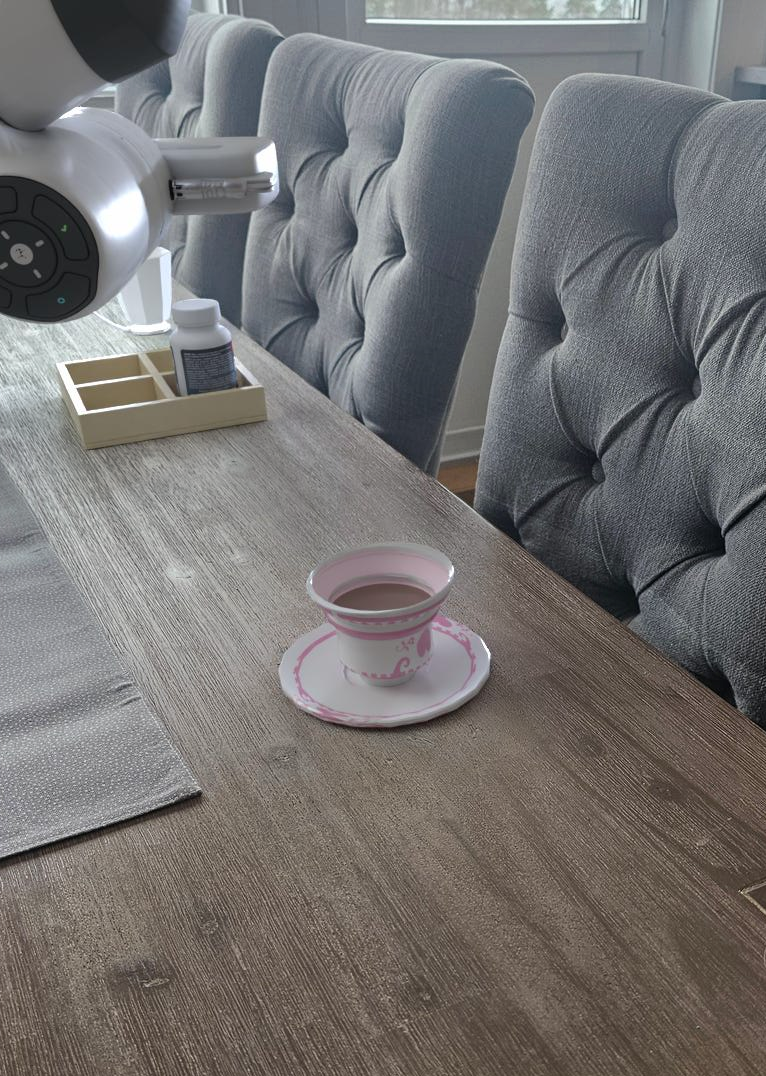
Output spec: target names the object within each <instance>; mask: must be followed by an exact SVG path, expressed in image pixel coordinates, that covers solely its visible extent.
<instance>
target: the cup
mask: <svg viewBox="0 0 766 1076" xmlns="http://www.w3.org/2000/svg"><path fill="white" fill-rule="evenodd" d="M172 289H173V288H172V252H171V250H168V249H166V248H165V247H163V246H157V247H156V249H155V250H154V251H153V252H152V253H151V255H150V256H149V258H148V259H147V260H146V261H145V262H144V263H143V264H142V265H141V266H140V267H139V269H138V271H137V272H136V274H135V275H134V277H133V278H132V279H131V280H130V282H129V283H128V284H127V285H126V286H125V287H124V288H123V289H122V290H121V291H120V292H119V293H118V294H117V295H116V299H117V301H118V303H119V306H120V308H121V310H122V312H123V315H124V317H125V319H126V321H128V322H129V323H130V324H132V325H131V326H124V325H120V324H118V323H115V322H114V321H111V320H109V318H106V317H104V316H103V315H101V314H100V313H98V312H97V311H95V312H93V313H91V314H90V315H91V316H93V317H94V318H95V319H97V320H99V321H100V322H102V323H104V324H105V325H107V326H109V327H111V328H112V329H115V330H118V331H121V332H124V333H125V332H126V333H132V334H133V335H136V336H137V335H138V336H153V335H158V334H164V333H166V332H167V331H170V330H171V329H172V328H171V324H170V323H168V322H167V321H168V320H169V319H170V318H171V312H172V310H171V306H172V301H173V300H172V298H173V295H172V291H173V290H172Z"/></svg>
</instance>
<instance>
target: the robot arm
mask: <svg viewBox="0 0 766 1076" xmlns="http://www.w3.org/2000/svg"><path fill="white" fill-rule="evenodd" d="M192 2H193V1H192V0H0V315H2V316H3V317H6V318H9V319H11V320H16V321H20V322H24V323H28V324H33V325H58V324H64V323H69V322H74V321H76V320H81V319H83V318H85V317H87V316H89V315H92V314H91V313H93V312H97V311H99V310H100V309H102V308H103V307H104V306H105V305H107V304H108V303H109V302H111V301H112V300H113V299H115V298H116V297H117V294H118V293H119V292H120V291H121V290H122V289H123V288H124V287H125V286H126V285H127V284H128V283H129V282H130V280H131V279H132V278H133V277H134V275H135V274H136V272H137V271H138V269H139V267H140V266H141V265H142V264H143V263H144V262H145V261H146V260H147V259H148V258H149V256H150V255H151V253H152V252H153V251H154V250H155V249H156V247H159V245H160V243H161V242H162V241H163V240H164V239H165V237H166V235H167V233H168V232H169V228H170V227H171V224H172V221H173V218H174V217H175V216H211V215H212V216H215V215H237V214H246V213H253V212H256V211H260V210H261V209H263V208H265V207H267V206H268V205H269V204H271V203H272V202H273V201H275V199H276V198H278V195H279V193H280V178H279V166H278V165H279V163H278V156H277V150H276V144H275V142H274V140H273V139H271V138H269V137H264V136H214V137H213V136H211V137H210V136H209V137H208V136H207V137H205V136H204V137H159V138H158V137H156V138H154V137H153V138H152V137H151V136H149V134H148V133H147V132H146V131H145V130H144V129H143V128H141V127H140V126H139V125H138V124H137V123H135V122H134V121H132V120H130V119H129V118H127V117H125V116H124V115H121V114H119V113H117V112H114V111H112V110H108V109H105V108H100V107H89V106H86V107H83V106H82V107H79V106H81V105H82V104H84V103H86V102H87V101H89V100H90V99H91V98H93V97H94V96H96V95H98V94H99V93H101V92H102V91H104V90H106V88H109V87H110V86H111V85H117V84H121V83H123V82H125V81H127V80H129V79H131V78H133V77H134V76H136V75H139V74H140V73H143V72H145V71H147V70H148V69H151V68H152V67H154V66H156V65H159V64H160V63H162V62H164V61H166V60H168V59H170V58H173V57H174V56H176V55H177V53H178V51H179V48H180V45H181V43H182V40H183V37H184V34H185V32H186V31H185V30H186V27H187V24H188V20H189V17H190V12H191V7H192Z"/></svg>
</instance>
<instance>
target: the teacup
mask: <svg viewBox="0 0 766 1076" xmlns="http://www.w3.org/2000/svg"><path fill="white" fill-rule="evenodd" d="M454 575H455V567H454V565H453V563H452V562H451V560H450V559H449V557H448V556H447V555H445V554H444V553H443V552H442V551H440V550H438V549H436V548H435V547H431V546H429V545H426V544H421V543H418V542H417V543H416V542H410V541H379V542H372V543H371V542H370V543H365V544H362V545H358V546H354V547H351V548H347V549H344V550H342V551H339V552H337V553H335V554H333V555H331V556H329V557H328V558H326V559H325V560H323V561H322V562H320V563H319V564H317V566H316V567H315V568H314V569H313V570H312V571H311V572H310V573H309V576H308V577H307V580H306V585H305V586H306V592H307V595H308V596H309V598H311V599H312V601H313V603H315V605H316V606H317V607H318V608H319V609H320V610H321V611H323V612H325V614H324V615H325V618H326V619H327V622H325V623H322V624H319V626H317V627H315V628H313V629H311V630H309V631H308V632H306V633H304V634H302V635H301V636H299V637H298V638H297V639H296V641H294V642H293V643H292V644H291V646H289V648H288V649H286V650H285V651H284V653H283V655H282V659H281V661H280V663H279V667H278V670H277V673H278V679H279V682H280V686H281V690H282V693H283V694H284V695H285V696H286V697H287V698H288V700H290V702H292V704H293V705H294V706H295V707H296V708H297V709H298V710H300V711H303V712H305V713H307V714H309V715H311V716H314V717H316V718H317V719H320V720H321V721H324V722H330V723H334V724H339V725H344V726H347V727H354V728H396V727H400V726H407V725H411V724H412V725H413V724H418V723H424V722H428V721H430V720H433V719H435V718H438V717H440V716H442V715H445V714H448V713H451V712H453V711H456V710H457V709H459V708H460V707H461V706H463V705H464V704H466V703H468V702H469V701H470V700H471V699H473V698H474V697H475V696H478V695H479V693H480V691H481V689H482V688H483V686H484V685H485V683H486V682H487V680H489V678H490V669H491V652H490V651H489V649H488V648H487V645H486V643H485V642H484V640H483V638H482V637H481V636H479V635H478V634H477V633H475V632H474V631H473V630H471V629H470V628H468V627H467V626H466V625H465V624H463V623H460V622H457V621H455V620H453V619H450V618H447V617H444V616H442V615H439V612H440V608H441V605H442V604H443V603H444V602H445V600H446V599H447V597H448V596H449V594H450V593H451V590H452V588H453V582H454Z"/></svg>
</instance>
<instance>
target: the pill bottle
mask: <svg viewBox="0 0 766 1076" xmlns="http://www.w3.org/2000/svg"><path fill="white" fill-rule="evenodd" d="M219 303H220V302H218V300H215V299H212V298H189V299H183V300H180V301H176V302H173V303H172V304H171V317H172V321H173V323H174V325H176V327H177V328H176V329H174V330H173V331H172V332H171V334H170V336H169V348H171V354H172V360H173V366H174V371H175V377H176V383H177V389H178V395H179V397H182V396H189V395H195V394H202V393H208V392H215V391H221V390H228V389H234V388H239V387H238V380H237V373H236V366H235V359H234V355H235V353H234V352H235V351H234V345H233V338H232V334H231V332H230V330H229V329H228V328H227V327H225V326H223V325H221V324H220V322H221V320H222V314H221V309H220V308H221V307H220V304H219Z"/></svg>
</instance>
